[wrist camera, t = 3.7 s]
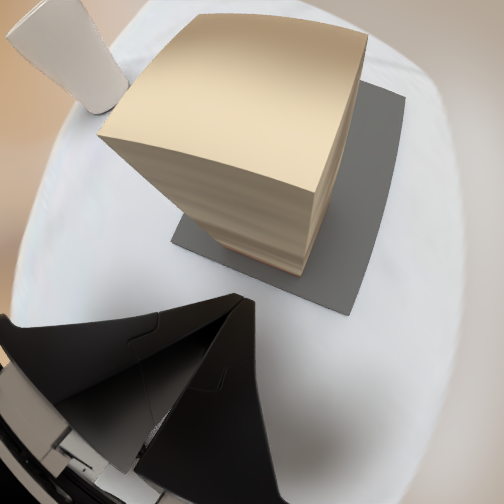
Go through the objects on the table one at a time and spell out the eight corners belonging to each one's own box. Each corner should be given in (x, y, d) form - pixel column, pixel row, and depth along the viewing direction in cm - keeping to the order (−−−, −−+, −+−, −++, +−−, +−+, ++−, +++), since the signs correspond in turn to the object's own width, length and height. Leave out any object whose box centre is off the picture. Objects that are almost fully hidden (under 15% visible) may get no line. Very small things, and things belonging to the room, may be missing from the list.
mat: (347, 315, 15) (348, 315, 15) (173, 243, 18) (170, 241, 17) (404, 101, 17) (405, 97, 17) (272, 62, 20) (272, 59, 20)
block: (300, 278, 16) (314, 193, 4) (223, 246, 17) (96, 134, 5) (329, 202, 16) (368, 34, 5) (255, 176, 17) (198, 14, 6)
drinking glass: (148, 74, 22) (81, -27, 8) (112, 123, 22) (19, 25, 7) (109, 76, 24) (45, -3, 9) (76, 120, 23) (-4, 45, 8)
